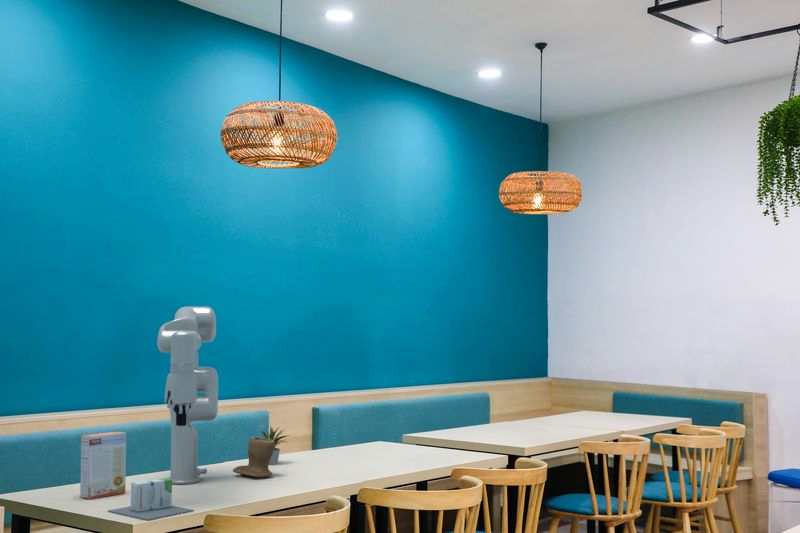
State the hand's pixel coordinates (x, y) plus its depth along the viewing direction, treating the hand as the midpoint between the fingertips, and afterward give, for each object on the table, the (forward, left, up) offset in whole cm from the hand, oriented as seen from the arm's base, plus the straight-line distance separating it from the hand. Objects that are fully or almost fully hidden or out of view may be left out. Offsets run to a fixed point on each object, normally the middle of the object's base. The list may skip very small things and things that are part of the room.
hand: (181, 425), depth 282 cm
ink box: (+7, +3, -20) cm, 22 cm away
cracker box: (+9, -30, -25) cm, 40 cm away
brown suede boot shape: (-50, -18, -25) cm, 59 cm away
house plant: (-73, -34, -25) cm, 84 cm away
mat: (+14, +4, -25) cm, 29 cm away
